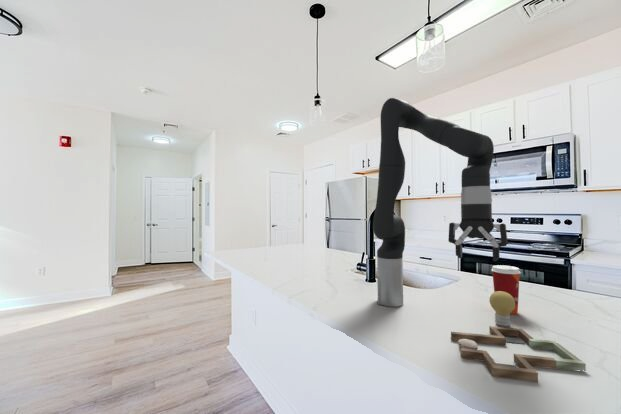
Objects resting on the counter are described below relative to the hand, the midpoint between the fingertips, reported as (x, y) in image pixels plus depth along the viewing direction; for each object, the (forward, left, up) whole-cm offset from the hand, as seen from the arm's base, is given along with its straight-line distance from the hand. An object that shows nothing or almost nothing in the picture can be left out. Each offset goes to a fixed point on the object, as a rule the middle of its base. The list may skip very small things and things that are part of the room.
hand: (476, 259), depth 78 cm
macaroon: (-5, -11, -21) cm, 24 cm away
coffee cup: (+15, +20, -21) cm, 32 cm away
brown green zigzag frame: (+3, -11, -20) cm, 24 cm away
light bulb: (+9, +7, -21) cm, 23 cm away
